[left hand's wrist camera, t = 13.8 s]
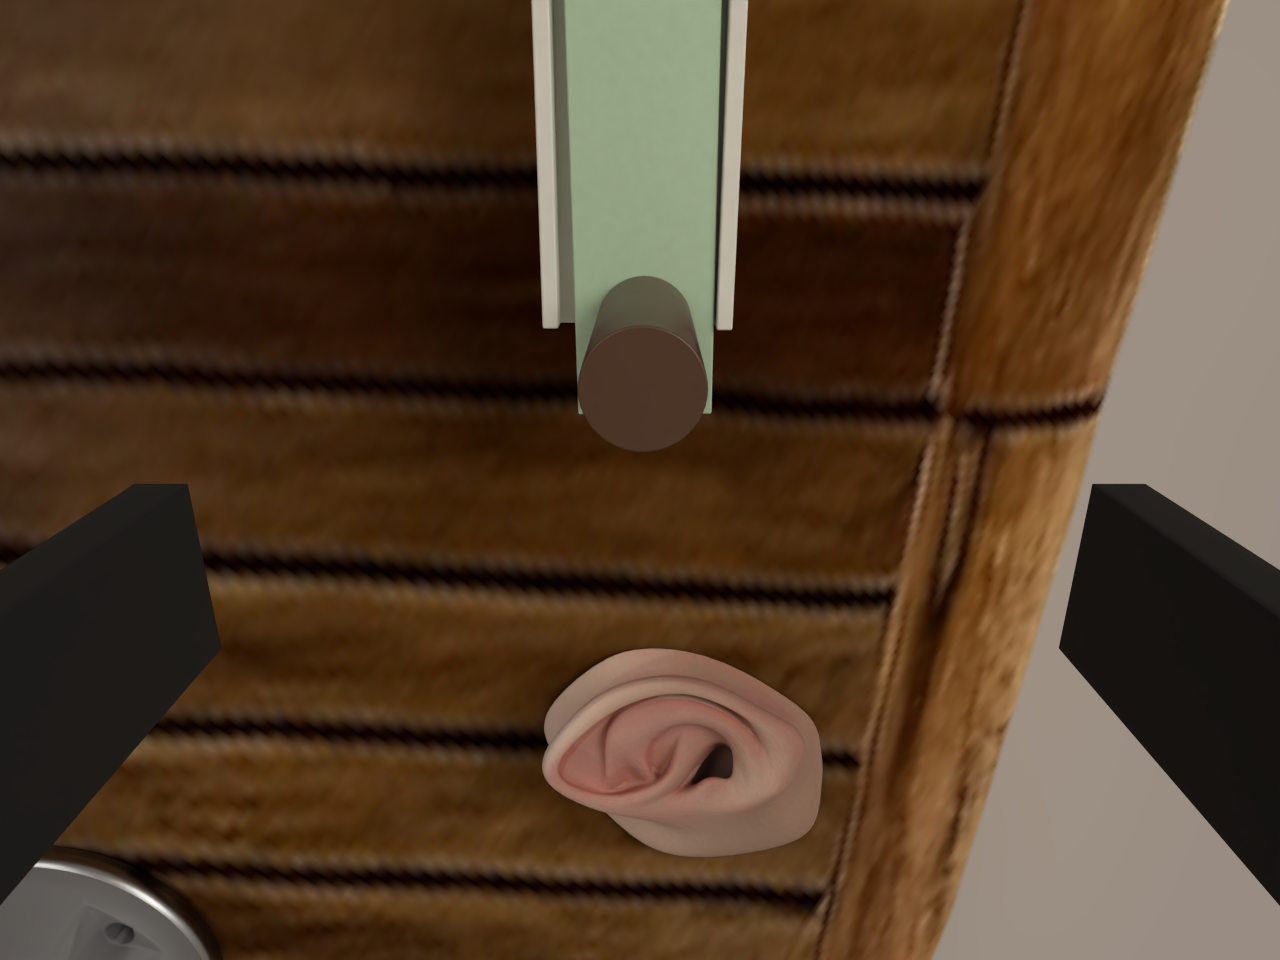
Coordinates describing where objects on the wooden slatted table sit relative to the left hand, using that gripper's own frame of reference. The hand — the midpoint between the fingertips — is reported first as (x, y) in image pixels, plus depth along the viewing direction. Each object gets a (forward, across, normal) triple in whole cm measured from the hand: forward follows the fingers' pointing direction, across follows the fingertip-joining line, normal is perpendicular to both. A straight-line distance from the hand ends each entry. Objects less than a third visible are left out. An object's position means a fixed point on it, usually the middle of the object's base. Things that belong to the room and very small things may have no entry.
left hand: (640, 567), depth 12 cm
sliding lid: (+16, 0, +6) cm, 17 cm away
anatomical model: (+21, +2, -20) cm, 30 cm away
